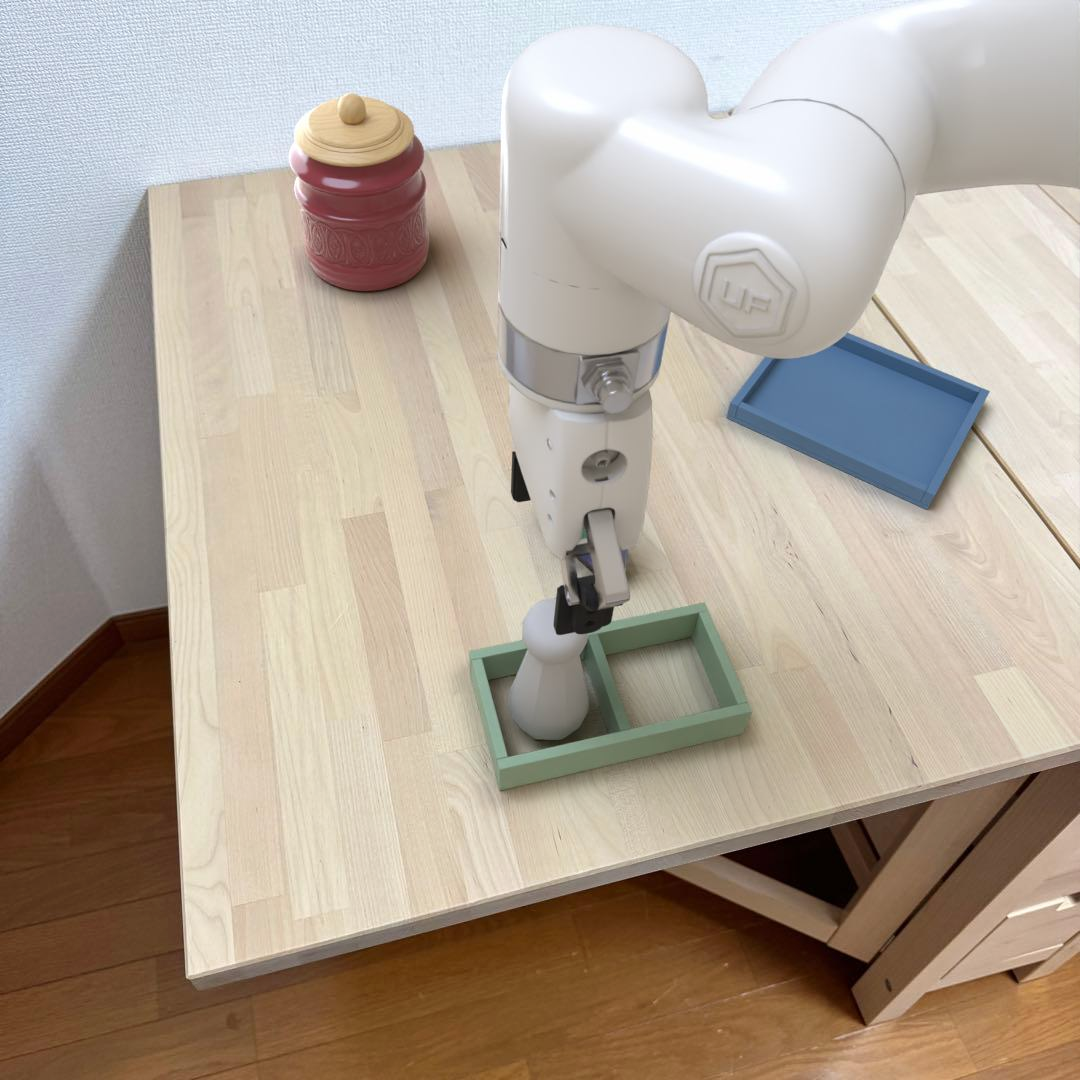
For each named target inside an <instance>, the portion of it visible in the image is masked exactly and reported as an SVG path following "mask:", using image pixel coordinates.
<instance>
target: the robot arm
mask: <svg viewBox="0 0 1080 1080" xmlns="http://www.w3.org/2000/svg"><path fill="white" fill-rule="evenodd" d="M706 86H707V85H706V83H705V80H704V77H703V75H702V74H701V71H700V70H699V68H698V66H697V65H696V63H695V62H694V61H693V60H692V58H691V57H690V56H689V55H687V54H686V53H685V52H684V51H683V50H682V49H680V48H679V47H678V46H677V45H675V44H674V43H672V42H670V41H669V40H667V39H665V38H663V37H661V36H658V35H656V34H654V33H650V32H648V31H644V30H641V29H637V28H633V27H628V26H623V25H615V24H614V25H613V24H612V25H611V24H586V25H585V24H584V25H575V26H570V27H565V28H561V29H557V30H554V31H552V32H550V33H547V34H544V35H543V36H540V38H537V39H536V40H534V41H533V42H531V43H530V44H528V45H527V46H526V47H525V48H524V49H523V50H522V51H521V52H520V53H519V54H518V55H517V57H516V58H515V59H514V61H513V62H512V65H511V66H510V68H509V70H508V72H507V75H506V78H505V82H504V85H503V89H502V100H501V112H500V113H501V114H500V167H499V176H500V177H499V223H498V224H499V228H498V230H499V231H498V234H499V235H498V236H499V237H498V294H497V295H498V296H497V347H496V348H497V349H496V350H497V351H496V352H497V354H496V355H497V362H498V364H499V368H500V371H501V372H502V375H503V376H504V377H505V379H506V380H507V382H508V383H509V384H508V385H509V387H508V420H509V421H508V423H509V433H510V437H511V442H512V446H513V449H514V450H513V451H511V474H510V475H511V476H510V477H511V478H510V494H511V497H512V500H513V501H515V502H516V503H523V502H531V504H532V507H533V511H534V514H535V516H536V519H537V522H538V525H539V528H540V531H541V533H542V536H543V540H544V542H545V544H546V547H547V549H548V551H549V552H550V554H551V555H553V557H555V558H557V559H558V560H560V567H561V568H560V569H561V576H562V582H563V583H562V584H561V585H560V586H559V587H557V588H556V597H555V598H556V605H555V614H554V624H553V625H554V629H555V632H556V634H557V635H564V634H569V633H574V632H575V633H576V634H581V635H582V634H588V633H592V632H595V631H598V630H599V629H601V627H604V626H607V625H609V624H610V623H611V622H612V621H613V615H614V610H615V608H616V607H620V606H623V604H625V603H627V602H630V599H631V591H630V585H629V581H628V577H627V574H626V573H627V572H626V571H625V568H624V564H623V559H622V555H621V550H625V549H628V550H629V549H633V548H636V547H637V546H638V544H639V543H640V541H641V538H642V535H643V530H644V524H645V519H646V512H647V505H648V504H647V502H648V497H649V488H650V481H651V480H650V479H651V469H652V460H653V459H652V458H653V457H652V456H653V440H654V439H653V437H654V435H653V434H654V433H653V432H654V430H653V429H654V428H653V427H654V423H653V422H654V420H653V399H652V395H651V391H650V389H651V388H652V387H653V386H654V384H655V383H656V381H657V379H658V377H659V374H660V371H661V366H662V361H663V355H664V350H665V345H666V340H667V333H668V329H669V323H670V318H671V314H672V313H673V314H674V315H676V316H677V317H679V318H681V319H682V320H683V321H685V322H686V323H688V324H690V325H691V326H693V327H695V328H696V329H698V330H700V331H702V332H703V333H705V334H706V335H708V336H710V337H712V338H714V339H715V340H718V341H720V342H722V343H723V344H726V345H728V346H730V347H733V348H735V349H737V350H740V351H742V352H745V353H748V354H751V355H755V356H760V357H763V358H764V357H769V358H778V359H788V358H799V357H804V356H808V355H812V354H815V353H817V352H820V351H822V350H824V349H826V348H828V347H830V346H831V345H833V344H834V343H836V342H837V341H839V340H840V339H841V338H842V337H844V336H845V335H846V334H847V333H849V332H850V331H851V330H852V329H853V328H854V326H855V325H857V323H858V322H859V320H860V319H861V317H862V316H863V314H864V312H865V311H866V309H867V308H868V306H869V304H870V303H871V301H872V298H873V296H874V293H875V291H876V289H877V288H878V285H879V282H880V281H881V278H882V276H883V273H884V270H885V268H886V266H887V264H888V261H889V258H890V256H891V253H892V251H893V249H894V247H895V244H896V241H897V240H898V238H899V237H900V233H901V231H902V229H903V226H904V224H905V222H906V220H907V217H908V215H909V213H910V209H911V207H912V205H913V202H914V201H915V198H916V196H921V195H928V194H935V193H944V192H951V191H953V192H954V191H960V190H961V191H962V190H968V189H977V188H987V187H998V186H999V187H1000V186H1015V185H1027V186H1029V185H1031V186H1032V185H1034V186H1052V187H1053V186H1054V187H1062V188H1071V189H1076V190H1080V0H916V1H913V2H912V1H911V2H908V3H904V4H900V5H895V6H889V7H886V8H881V9H877V10H873V11H869V12H865V13H861V14H857V15H853V16H850V17H847V18H844V19H841V20H838V21H835V22H832V23H830V24H828V25H825V26H822V27H820V28H818V29H816V30H815V31H813V32H811V33H809V34H807V35H805V36H803V37H801V38H800V39H798V40H795V41H794V42H793V43H792V44H790V45H789V46H787V47H786V48H785V49H784V50H783V51H781V52H780V53H779V54H777V55H776V56H775V57H774V58H773V59H772V60H771V61H770V62H769V63H768V64H767V66H766V67H765V68H764V69H763V71H762V72H761V73H760V75H759V76H758V77H757V78H756V79H755V81H754V82H753V84H752V85H751V86H750V88H749V89H748V90H747V92H746V93H745V94H744V95H743V96H742V99H741V100H740V101H739V103H738V104H737V105H736V107H735V109H734V110H733V112H732V113H731V115H730V116H727V117H724V118H721V119H720V118H719V119H717V118H713V117H712V116H711V115H710V114H709V101H708V100H709V99H708V91H707V87H706ZM583 526H584V528H585V533H586V537H587V538H585V539H581V538H582V532H583ZM620 548H621V550H620ZM589 554H590V555H591V560H592V565H593V569H594V573H593V574H590V575H585V576H580V577H579V576H578V571H577V562H576V558H577V557H578V556H583V555H589Z"/></svg>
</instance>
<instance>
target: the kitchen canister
mask: <svg viewBox="0 0 1080 1080" xmlns="http://www.w3.org/2000/svg"><path fill="white" fill-rule="evenodd" d="M293 138H294V142H293V144H292V145H291V147H290V150H289V154H288V162H289V166H290V168H291V170H292V171H293V173H294V174H295V176H296V178H295V181H294V187H293V188H294V189H293V190H294V196H295V199H296V201H297V203H298V207H299V213H300V219H301V224H302V230H303V246H304V252H305V255H306V257H307V259H308V261H309V264H310V266H311V268H312V270H313V271H314V273H315V274H316V275H317V276H318V277H319V278H320V279H322V280H323V281H325V282H326V283H328V284H331V285H333V286H335V287H338V288H341V289H344V290H350V291H359V292H371V291H372V292H373V291H381V290H386V289H387V290H388V289H390V288H393V287H396V286H399V285H402V284H404V283H405V282H407V281H409V280H411V279H412V278H413V277H415V276H416V275H417V274H418V273H419V272H420V271H421V270H422V269H423V267H424V266H425V264H426V262H427V260H428V253H429V249H430V232H429V231H430V230H429V227H428V224H427V206H426V190H427V179H426V176H425V174H424V172H423V170H422V169H421V168H422V166H423V163H424V160H425V149H424V146H423V143H422V142H421V140H420V138H419V137H418V136H417V135H416V134H415V127H414V124H413V121H412V120H411V118H410V117H409V116H408V115H407V114H406V113H405V112H404V111H402V110H400V109H399V108H397V107H396V106H393V105H390V104H389V103H387V102H384V101H382V100H380V99H378V98H374V97H368V96H360V95H358V94H356V93H355V92H354V93H353V92H349V93H345V94H343V95H342V96H341V97H336V98H332V99H329V100H327V101H324V102H322V103H321V104H318V105H317V106H316V107H314V108H312V109H311V110H309V111H308V112H307V113H305V114H304V115H303V116H302V117H301V118H300V119H299V120H298V121H297V123H296V125H295V127H294V131H293Z"/></svg>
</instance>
